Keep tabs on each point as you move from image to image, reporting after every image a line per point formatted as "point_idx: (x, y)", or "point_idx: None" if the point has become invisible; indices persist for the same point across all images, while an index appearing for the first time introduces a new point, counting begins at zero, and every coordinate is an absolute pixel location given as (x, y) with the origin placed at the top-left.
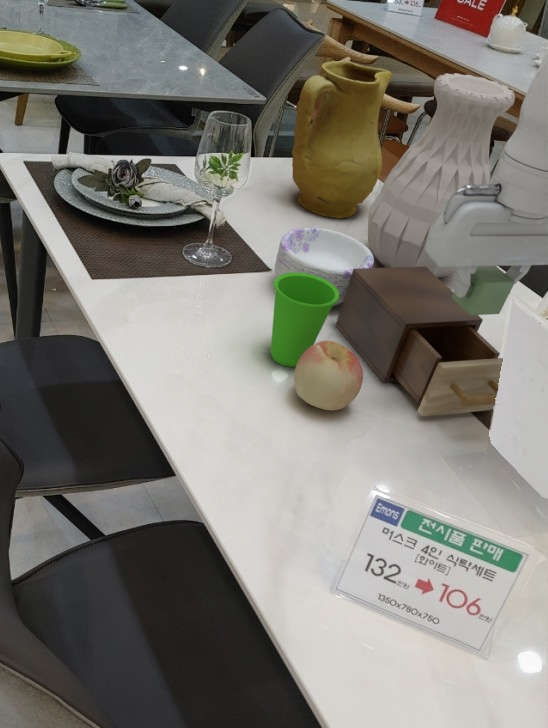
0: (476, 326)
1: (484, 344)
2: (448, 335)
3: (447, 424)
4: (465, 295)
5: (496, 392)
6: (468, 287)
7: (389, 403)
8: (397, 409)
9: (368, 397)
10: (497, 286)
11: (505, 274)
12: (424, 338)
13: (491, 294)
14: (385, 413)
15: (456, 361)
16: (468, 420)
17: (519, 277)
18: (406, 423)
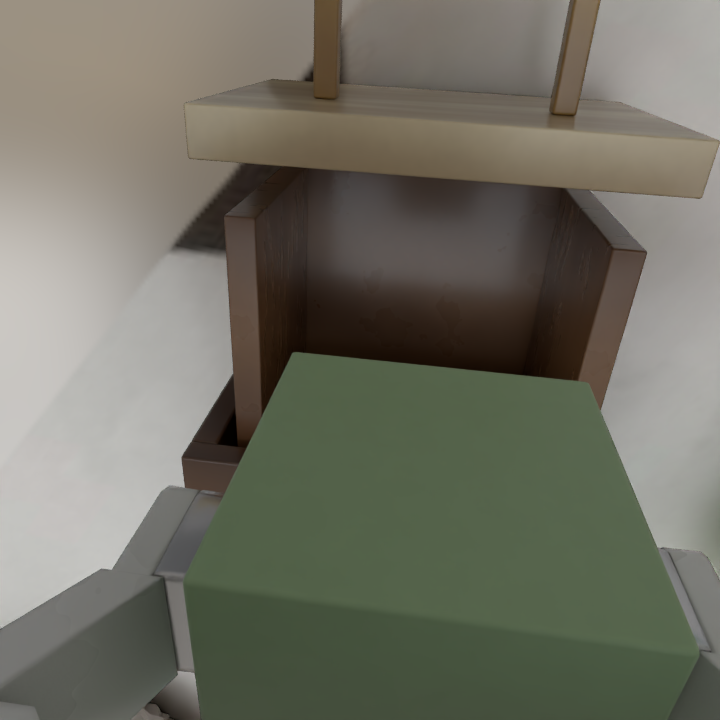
0: (213, 437)
1: (260, 309)
2: None
3: (500, 57)
4: (665, 559)
5: (341, 7)
6: (716, 634)
7: (641, 237)
8: (639, 196)
9: (695, 287)
10: (445, 567)
11: (207, 707)
12: None
13: (480, 494)
14: (711, 184)
15: (573, 185)
16: (388, 63)
17: (41, 633)
18: (677, 103)
